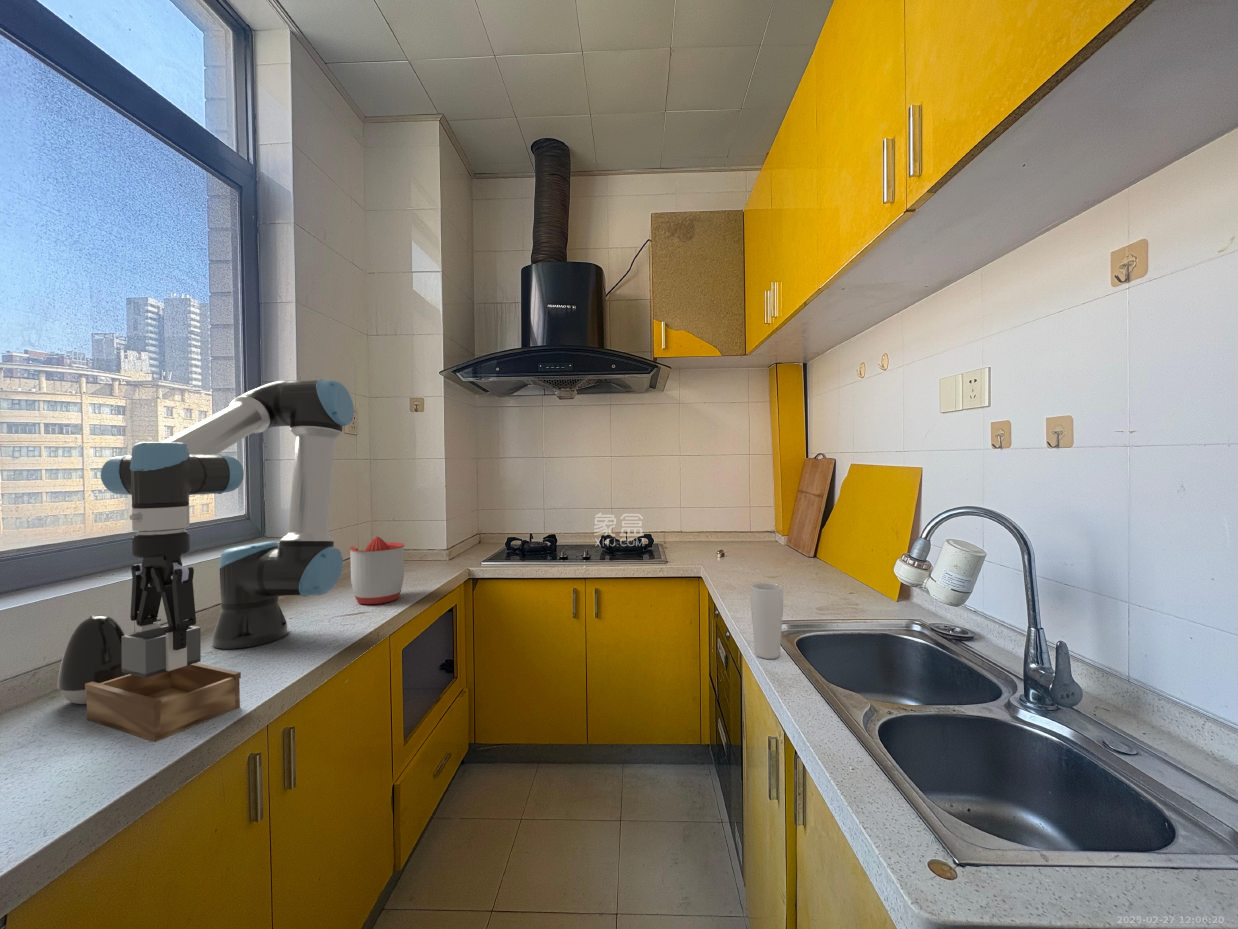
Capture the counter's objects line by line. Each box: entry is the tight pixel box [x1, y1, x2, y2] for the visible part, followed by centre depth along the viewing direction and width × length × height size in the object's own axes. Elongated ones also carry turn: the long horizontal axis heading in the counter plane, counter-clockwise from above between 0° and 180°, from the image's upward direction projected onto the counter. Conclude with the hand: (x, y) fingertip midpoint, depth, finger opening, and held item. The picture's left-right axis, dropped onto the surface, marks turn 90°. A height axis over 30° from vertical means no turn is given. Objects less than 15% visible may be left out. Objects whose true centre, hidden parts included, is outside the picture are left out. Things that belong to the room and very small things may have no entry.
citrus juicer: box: [349, 536, 405, 605], centre depth 165 cm, size 16×17×20 cm
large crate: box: [85, 662, 242, 743], centre depth 92 cm, size 13×20×6 cm, turn 67°
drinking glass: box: [750, 582, 784, 660], centre depth 114 cm, size 7×7×15 cm
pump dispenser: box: [57, 615, 128, 705], centre depth 98 cm, size 10×10×15 cm
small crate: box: [122, 624, 202, 678], centre depth 91 cm, size 8×7×6 cm
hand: (163, 664), depth 91 cm, fingers closed on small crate, 7 cm apart
